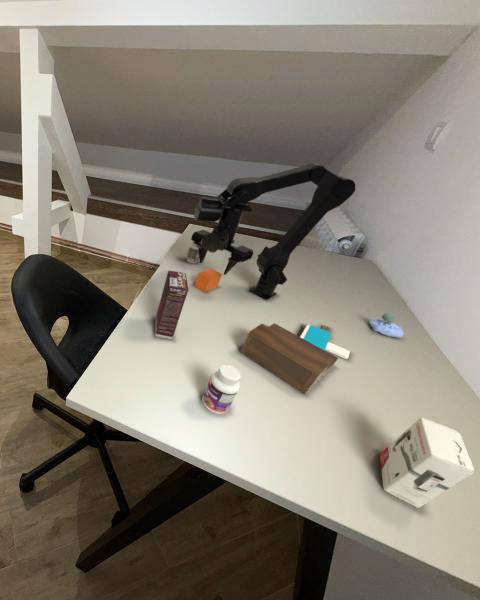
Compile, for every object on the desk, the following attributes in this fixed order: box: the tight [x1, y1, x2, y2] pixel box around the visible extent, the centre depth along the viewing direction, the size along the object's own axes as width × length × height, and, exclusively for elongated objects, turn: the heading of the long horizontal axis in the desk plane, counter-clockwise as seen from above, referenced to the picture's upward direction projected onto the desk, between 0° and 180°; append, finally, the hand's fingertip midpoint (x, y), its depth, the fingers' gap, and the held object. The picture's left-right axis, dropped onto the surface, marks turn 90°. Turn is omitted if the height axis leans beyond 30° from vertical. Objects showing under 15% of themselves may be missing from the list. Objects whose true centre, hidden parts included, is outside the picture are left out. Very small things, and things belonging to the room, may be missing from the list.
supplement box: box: [154, 270, 189, 340], centre depth 81 cm, size 9×5×16 cm, turn 168°
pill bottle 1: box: [185, 240, 200, 264], centre depth 121 cm, size 5×5×8 cm
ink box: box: [379, 416, 475, 509], centre depth 52 cm, size 9×5×12 cm, turn 145°
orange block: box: [194, 268, 223, 293], centre depth 106 cm, size 7×4×5 cm, turn 126°
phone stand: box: [296, 324, 351, 360], centre depth 84 cm, size 20×12×2 cm, turn 136°
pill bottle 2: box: [201, 364, 242, 415], centre depth 63 cm, size 5×5×10 cm
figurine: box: [369, 312, 405, 339], centre depth 91 cm, size 8×7×7 cm
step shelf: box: [239, 323, 339, 395], centre depth 77 cm, size 16×16×7 cm
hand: (212, 268), depth 103 cm, fingers open, 9 cm apart
